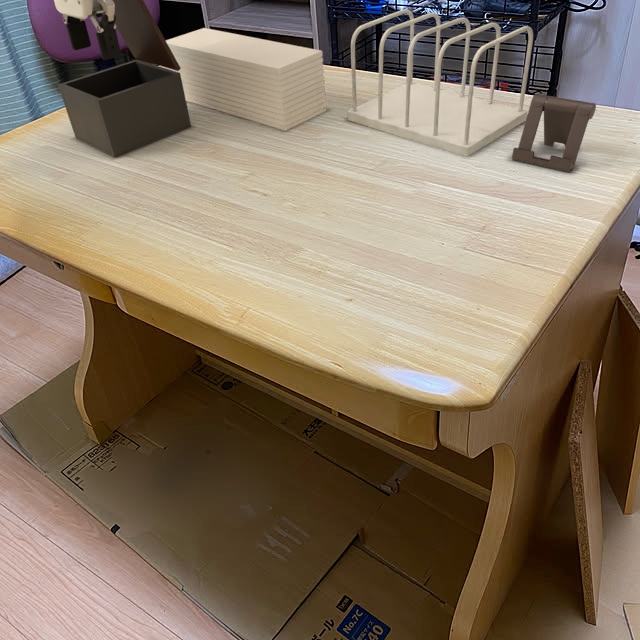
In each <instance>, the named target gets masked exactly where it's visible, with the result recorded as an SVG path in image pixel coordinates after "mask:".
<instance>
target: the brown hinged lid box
mask: <svg viewBox="0 0 640 640" xmlns="http://www.w3.org/2000/svg"><path fill="white" fill-rule="evenodd" d="M57 86H58V90H59V92H60V95H61V98H62V102H63V104H64V108H65V110H66V114H67V116H68V119H69V122H70V125H71V128H72V132H73V135H74V137H75V139H76V140H78V141H80V142H82V143H84V144H86V145H88V146H90V147H92V148H94V149H96V150H98V151H100V152H102V153H104V154H106V155H108V156H109V157H112V158H114V159H116V158H119V157H121V156H124V155H127V154H130V153H131V152H133V151H136V150H139V149H141V148H143V147H147V146H148V145H149V146H150V145H151V144H153V143H157V142H158V141H160V140H163V139H166V138H168V137H171V136H174V135H176V134H178V133H181V132H183V131H185V130H187V129H190V128H192V122H191V118H190V113H189V109H188V104H187V101H186V99H185V94H184V89H183V84H182V80H181V75H180V73H179V72H176V71H172V70H169V69H168V68H166V67H163V66H159V65H156V64H153V63H150V62H146V61H143V60H140V59H134V60H131V61H128V62H125V63H122V64H118V65H115V66H112V67H109V68H106V69H101V70H99V71H96V72H93V73H90V74H87V75H84V76H81V77H79V78H78V77H77V78H74V79H71V80H68V81H65V82H62V83H59V84H57Z"/></svg>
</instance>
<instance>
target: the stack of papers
mask: <svg viewBox="0 0 640 640" xmlns="http://www.w3.org/2000/svg"><path fill="white" fill-rule="evenodd" d="M165 41H166V42H167V44H168V46H169V48H170V50H171V51H172V53H173V55H174V57H175V59H176V60H177V62H178V64H179V66H180V68H181V69H180V70H179V71H176V70H173V69H169V68H167V69H169V70H172V71H176V72H179V73H180V75H181V80H182V84H183V89H184V94H185V99H186V102H189V103H193V104H196V105H200V106H201V107H206V108H209V109H212V110H216V111H219V112H223V113H226V114H229V115H232V116H235V117H239V118H242V119H246V120H249V121H252V122H256V123H259V124H262V125H265V126H269V127H271V128H275V129H279V130H283V131H285V132H286V131H288V130H290V129H292V128H294V127H296V126H298V125H300V124H303V123H304V122H306V121H308V120H310V119H312V118H315V117H316V116H319V115H321V114H323V113H325V112H327V107H326V106H327V102H326V101H327V100H326V91H325V90H326V86H325V80H324V79H325V74H324V73H325V72H324V63H323V62H324V58H323V56H324V55H323V54H324V53H323V50H320V49H315V48H310V47H304V46H300V45H299V46H298V45H294V44H290V43H283V42H279V41H273V40H270V39H269V40H268V39H262V38H259V37H253V36H247V35H243V34H237V33H232V32H228V31H222V30H217V29H211V28H205V27H202V28H200V29H197V30H194V31H191V32H187V33H185V34H181V35H178V36H175V37H173V38H169V39H165Z"/></svg>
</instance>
